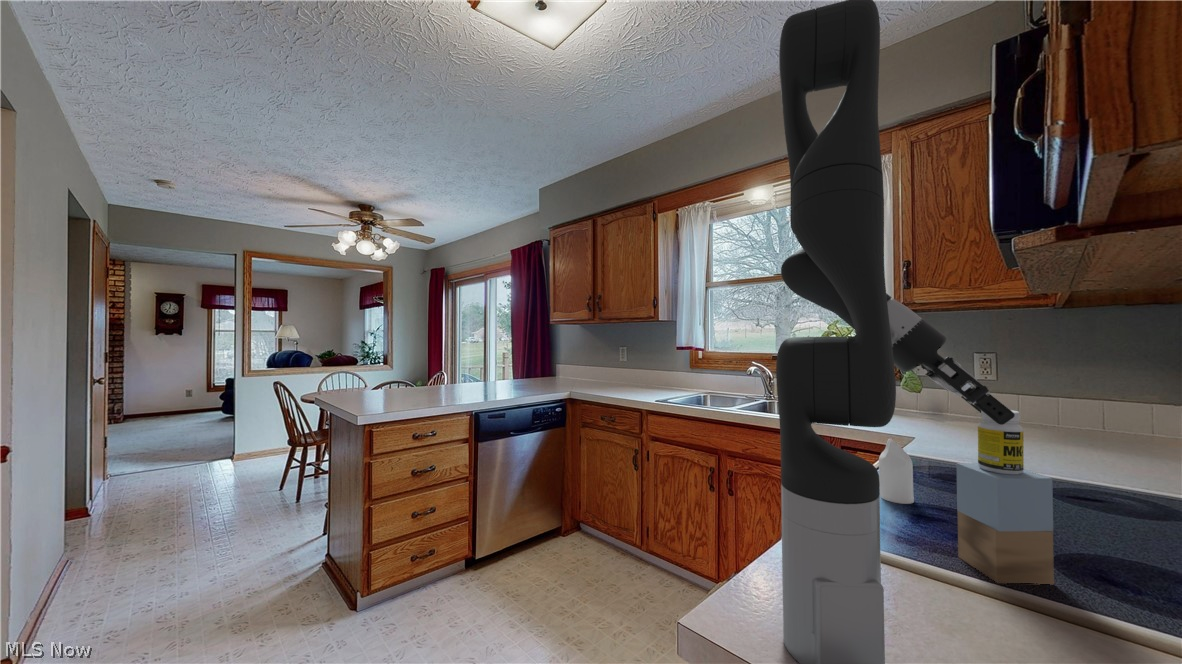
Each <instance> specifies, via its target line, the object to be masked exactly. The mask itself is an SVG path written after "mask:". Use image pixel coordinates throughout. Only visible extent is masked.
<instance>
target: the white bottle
mask: <svg viewBox="0 0 1182 664" xmlns="http://www.w3.org/2000/svg"><path fill="white" fill-rule="evenodd" d="M878 474H879V481H880V498H881V499H883V500H885V501H888V502H891V503H895V504H902V505H905V504H906V505H910V504H913V503H914V502H915V500H914V499H915V498H914V496H915V495H914V470H913V461H912V459H911V457H910V456H909V454H908V453H907V451H905V450H904V448H903V447H902V446H901V445H900V444H898V442H896V441H895V440H893V439H892V438H888V439H887V442H886V445H885V448H884V450H882V452H881V453H880V455H879V457H878Z"/></svg>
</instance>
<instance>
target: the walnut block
mask: <svg viewBox="0 0 1182 664" xmlns="http://www.w3.org/2000/svg"><path fill="white" fill-rule="evenodd" d="M957 550H958V551H957V554H958V555H957V556H958V558H959V559H961V560H962V561H964V562H965V563H966V564H968V565H970V566H971V567H972V568H973V569H975V568H976V569H975V570H977V571H978V570H979V571H978V572H980V573H981V572H982V573H981V574H982V575H984V574H985V575H984V576H985V577H987V576H988V577H989V579H990V580H991V579H992V581H993V580H994V581H995V583H996V582H997V583H996V584H1007V583H1035V584H1034V585H1040V584H1050V585H1049V586H1053V585H1055V579H1054V578H1055V576H1054V575H1055V574H1054V571H1055V569H1054V566H1055V565H1054V564H1055V563H1054V562H1055V561H1054V531H997V530H995V529H993V528H991V527H989V526H987V525H985V524H983V523H981V522H979V521H977V520H975V519H973V518H971V517H969V516H967V515H965V514H963V513H961V512H959V511H957ZM988 577H987V578H988ZM994 581H993V582H994ZM1036 583H1038V584H1036Z"/></svg>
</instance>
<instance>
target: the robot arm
mask: <svg viewBox="0 0 1182 664" xmlns="http://www.w3.org/2000/svg"><path fill="white" fill-rule="evenodd" d="M880 23H881V22H880V14H879V8H878V6H877V4H876V3H875V1H874V0H843V1H839V2H835V3H832V4H827V5H823V6H819V7H816V8H811V9H807V10H804V11H801V12H798V13H794V14H791V15H790V16H789V17H787V19H785V22H784V24H783V26H782V30H781V33H780V39H779V40H780V41H779V55H778V57H779V58H778V67H779V68H778V69H779V85H780V94H781V96H780V97H781V108H782V116H783V127H784V136H785V143H786V151H787V161H788V166H789V177H790V180H789V181H790V183H789V184H790V207H789V208H790V229H791V231H792V233H793V235H794V236H795V238H796V240H797V241H798V243H799V245H800V246H801V247H800V248H799V249H798V250H796V251H795V252H794V253H792V254H791V255H789V256H788V257H787V258H786V259H785V260H784V261H783V263H782V264H781V268H780V275H781V278H782V280H783V282H784V284H785V285H786V287H787V288H788V289H789V290H791V291H792V292H793V293H794V294H796V295H797V296H799V297H801V298H802V299H804V300H806V301H809V302H811V303H813V304H815V305H816V306H819V307H821V308H823V309H824V310H828V311H829V312H832V313H834V314H835V315H836V316H838V317H839V318H840V319H841V320H842V321H844V322H845V323H846V324H847V325H849V326H850V327H851V328H852V329H853V330H854V331H855V335H853V336H852V335H851V336H850V335H849V336H794V337H788V338H785V339H784V340H783V341H782V342H781V344H780V346H779V349H778V351H777V354H776V365H775V367H776V368H775V376H776V379H775V380H776V392H777V393H776V395H777V406H778V419H779V432H780V434H779V436H780V438H779V439H780V484H781V485H780V493H781V495H780V496H781V497H780V499H781V511H780V512H781V562H782V563H781V566H782V574H781V575H782V579H781V580H782V621H783V623H782V624H783V626H782V627H783V628H782V629H783V633H782V634H783V642H784V646H785V648H786V650H787V652H788V653H789V654H790V655H791V656H792V657H793V659H794V660H795V661H797V662H798V663H799V664H886V649H885V647H886V645H885V643H886V641H885V639H886V637H885V596H884V595H885V594H884V593H885V591H884V585H882V566H881V565H882V563H881V560H882V559H881V558H882V557H881V555H882V554H881V506H880V505H881V496H880V481H879V470H878V469H877V468H876V466H875V465H874V464H873V463H871V461H868V460H866V459H865V458H863V457H861V456H858V455H856V454H854V453H851V452H849V451H847V450H844V449H841V448H840V447H837V446H835V445H833V444H832V443H830V442H829V441H827V440H825V438H822V437H821V436H820V435H819V434H818V433H817V432H816V431H814V428H813V426H812V424H817V425H818V424H820V425H830V426H831V425H834V426H835V425H836V426H846V427H847V426H851V427H862V428H883V427H885V426H887V425H889V423H890V422H891V420H892V419H893V416H894V413H895V409H896V398H897V383H896V372H895V371H896V370H895V369H896V368H897V369H898V370H899V371H900V372H903V373H908V372H910V371H912V370H914V369H916V368H917V367H918V366H920V368H921V369H922V370H925V371H926V373H925V374H924V375H925V376H926V377H927V378H929V379H930V381H932V382H934V383H936V384H937V385H939V386H941V388H943V389H944V390H945V391H946V392H947V391H948V392H950V393H952V394H953V395H954V396H957V397H961V399H962V400H964V401H965V402H966V403H968V404H969V405H970V406H972V408H974V409H975V410H976V411H978V412H979V413H980V414H981V410H982V411H983V412H984V413H985V414H986V415H988V416H989V417H990V418H991V419H993V420H994V421H995V422H996V423H998V424H1000V425H1003V424H1005V423H1006V422H1008V421H1009V420H1011V419H1012V418H1014V416H1015V414H1014V413H1013V412H1012V411H1011V410H1012V409H1009V408H1008V407H1007V406H1006V405H1004V403H1002V402H1000V401H999V400H998V399H997V398H996V397H994V396H993V395H992V394H991V392H990V390H989V389H988V387H987V386H986V385H983V384H981V383H980V382H979V381H978V379H977V377H975V375H974V374H972V373H971V372H969V370H967V369H965V368H963V366H962V365H961V364H960V362H958V361H957V360H956V359H954V358H953V357H951V356H950V357H949V356H946V357H945V358H944V357H943V356H941V355H940V354H939V353H938V350H939V349H941V348H942V347H943V346H944V345H945V343H946V342H947V337H946V336H945V335H944V334H943V333H941V332H940V331H939V330H938V329H936V328H935V327H934V326H933V325H931V324H930V323H929V322H927V321H926V320H924V319H923V318H922V317H921V316H919V315H918V314H917V313H916V312H914V311H913V310H912V309H910V308H909V307H908V306H906V305H904V304H903V303H901V302H899V300H896V299H895V298H893V297H892V296H891V295H889V294H888V293H887V288H886V275H885V273H886V271H885V196H884V195H885V194H884V191H885V190H884V175H883V162H882V152H881V151H882V150H881V141H880V130H879V129H880V127H879V126H880V125H879V81H880V79H879V78H880V75H879V74H880V70H879V69H880V51H881V49H880V47H881V24H880ZM840 87H845V91H844V92H843V96H842V97H841V100H840V102H839V104H838V106H837V107H836V110H835V111H834V112H833V114H832V116H831V118H830V119H829V120H828V122H827V123H826V125H825V126H824V128H822V130H821V131H820V132H819V134H818V132H817V131H816V128H815V127H814V125H813V123H812V121H811V118H810V114H809V111H808V104H807V94H809V93H813V92H814V93H815V92H820V91H824V90H825V91H826V90H830V89H835V88H840Z"/></svg>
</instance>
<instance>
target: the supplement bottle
mask: <svg viewBox="0 0 1182 664" xmlns="http://www.w3.org/2000/svg"><path fill="white" fill-rule="evenodd" d="M1010 410H1011V411H1012V412H1013V413H1014V414H1015V416H1014V418H1012V419H1011V420H1009V421H1008V422H1006V423H1005V424H1003V425H1000V424H998V423H996V422H995V421H994V420H993V419H991V418H990V417H989V416H988V415H986V414H985V413H984V412H983V411H982V410H981V413H980V417H981V418H980V419H982V421H980V422H978V424H977V463H978V466H979V467H980V468H981V469H984V470H987V471H991V472H995V473H1000V474H1008V475H1018V474H1022V473H1023V471H1024V469H1025V467H1024V466H1025V465H1024V463H1025V462H1024V460H1025V459H1024V455H1025V454H1024V427H1022V425H1020V424H1019V423H1020V421H1021V417H1020V415H1021V414H1020V411H1017V410H1013V409H1010Z"/></svg>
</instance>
